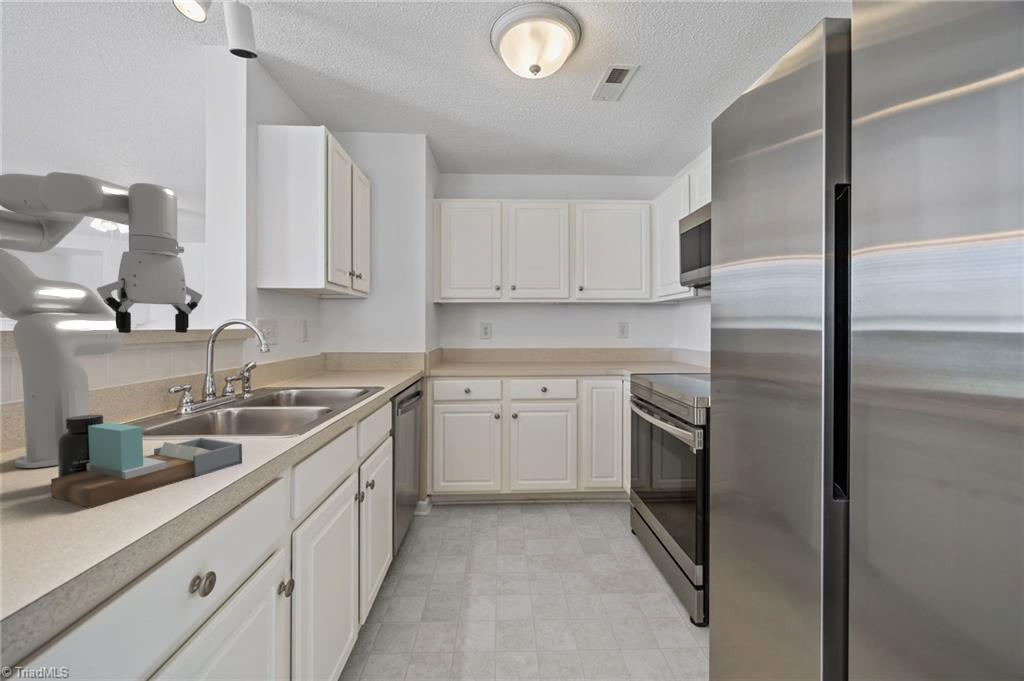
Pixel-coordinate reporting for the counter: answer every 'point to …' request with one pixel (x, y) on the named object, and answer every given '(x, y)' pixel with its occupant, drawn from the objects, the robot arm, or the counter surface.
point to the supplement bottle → (76, 444)
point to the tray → (213, 455)
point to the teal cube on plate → (119, 451)
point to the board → (118, 483)
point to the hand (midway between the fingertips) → (154, 332)
